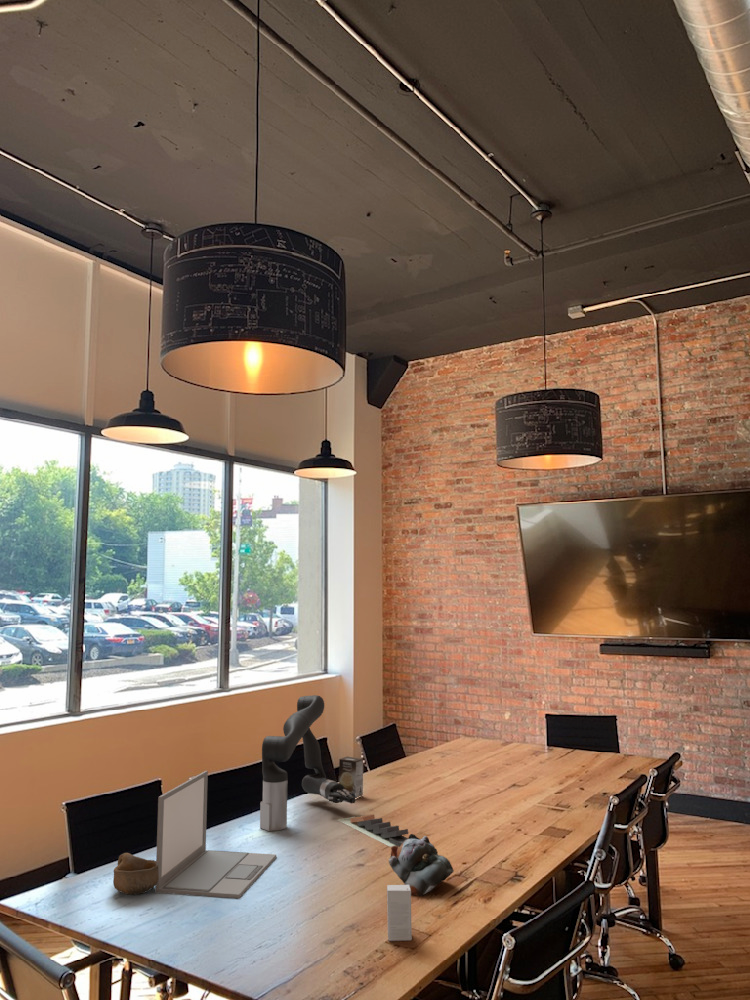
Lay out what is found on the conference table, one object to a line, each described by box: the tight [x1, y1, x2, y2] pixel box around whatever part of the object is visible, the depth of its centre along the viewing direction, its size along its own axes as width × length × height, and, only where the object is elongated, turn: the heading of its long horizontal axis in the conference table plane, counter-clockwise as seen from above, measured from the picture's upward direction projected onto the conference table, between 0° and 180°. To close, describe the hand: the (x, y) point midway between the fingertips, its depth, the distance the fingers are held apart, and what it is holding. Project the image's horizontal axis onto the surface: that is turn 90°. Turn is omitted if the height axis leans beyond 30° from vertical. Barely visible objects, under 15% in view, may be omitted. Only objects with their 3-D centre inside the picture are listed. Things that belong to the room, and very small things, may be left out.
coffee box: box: [338, 756, 364, 798], centre depth 328 cm, size 9×6×16 cm
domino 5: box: [381, 828, 409, 838], centre depth 267 cm, size 2×5×10 cm
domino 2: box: [358, 817, 384, 826], centre depth 281 cm, size 2×5×10 cm
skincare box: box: [386, 884, 413, 942], centre depth 192 cm, size 6×4×12 cm
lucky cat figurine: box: [388, 833, 455, 897], centre depth 226 cm, size 17×14×16 cm
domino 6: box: [389, 835, 409, 847], centre depth 262 cm, size 2×5×10 cm
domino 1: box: [350, 813, 376, 823], centre depth 286 cm, size 2×5×10 cm
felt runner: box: [337, 816, 397, 848], centre depth 278 cm, size 38×10×1 cm, turn 32°
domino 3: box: [365, 821, 391, 830], centre depth 276 cm, size 2×5×10 cm
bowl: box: [113, 852, 158, 896], centre depth 223 cm, size 18×14×10 cm
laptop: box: [154, 770, 277, 899], centre depth 237 cm, size 35×26×27 cm
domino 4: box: [373, 825, 400, 834], centre depth 272 cm, size 2×5×10 cm
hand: (353, 800), depth 292 cm, fingers closed
